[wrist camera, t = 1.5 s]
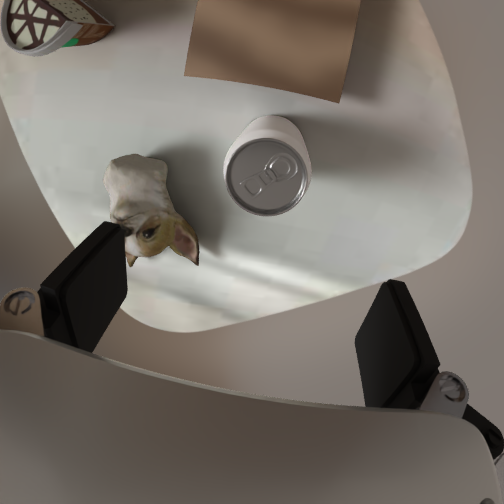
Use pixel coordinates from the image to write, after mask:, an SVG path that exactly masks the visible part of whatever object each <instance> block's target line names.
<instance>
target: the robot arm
mask: <svg viewBox="0 0 504 504" xmlns="http://www.w3.org/2000/svg"><path fill="white" fill-rule="evenodd" d="M40 286H41V288H40V290H39V291H38V292H36V291H35V290H33V289H31V288H18V289H15V290H12V291H11V292H9V293H8V294H6V295H5V296H4V297H3V299H2V301H1V303H0V504H504V452H503V449H504V439H503V436H502V434H501V432H500V430H499V429H498V428H497V427H496V426H495V425H494V424H492V423H491V422H490V421H489V420H487V419H486V418H485V417H484V416H482V415H481V414H480V413H478V412H477V411H476V410H475V409H473V408H472V407H471V406H469V405H468V404H467V402H468V399H469V391H468V388H467V386H466V384H465V382H464V381H463V380H462V379H461V378H460V377H459V376H458V375H456V374H454V373H452V372H448V371H445V372H441V373H439V370H438V367H439V366H440V362H439V360H438V357H437V355H436V352H435V350H434V347H433V345H432V343H431V340H430V338H429V335H428V333H427V331H426V328H425V326H424V323H423V321H422V319H421V317H420V314H419V312H418V310H417V308H416V306H415V303H414V301H413V299H412V297H411V295H410V293H409V291H408V289H407V286H406V284H405V283H404V282H402V281H397V280H392V279H389V280H388V281H387V282H384V283H383V284H382V285H381V287H380V289H379V291H378V293H377V295H376V298H375V300H374V302H373V304H372V306H371V308H370V310H369V312H368V314H367V316H366V317H365V319H364V322H363V323H362V325H361V327H360V329H359V331H358V333H357V335H356V338H355V347H356V353H357V358H358V363H359V369H360V375H361V381H362V387H363V393H364V399H365V406H366V407H359V406H345V405H333V404H322V403H313V402H304V401H297V400H289V399H282V398H275V397H268V396H262V395H256V394H250V393H244V392H239V391H234V390H228V389H223V388H218V387H214V386H209V385H204V384H200V383H195V382H191V381H187V380H183V379H178V378H175V377H171V376H167V375H163V374H159V373H155V372H152V371H148V370H145V369H141V368H138V367H134V366H131V365H127V364H124V363H121V362H118V361H115V360H111V359H108V358H105V357H102V356H99V355H96V354H93V353H92V352H93V351H94V349H95V347H96V345H97V344H98V342H99V340H100V338H101V337H102V335H103V333H104V332H105V330H106V329H107V327H108V325H109V324H110V322H111V320H112V319H113V317H114V315H115V314H116V312H117V311H118V309H119V307H120V306H121V304H122V303H123V301H124V299H125V298H126V295H127V290H128V288H127V273H126V255H125V232H124V229H121V226H120V225H119V224H117V223H112V222H107V221H104V222H103V223H102V224H101V225H100V226H99V227H97V228H96V229H95V230H94V231H93V232H92V233H91V234H90V235H89V236H88V237H87V238H86V239H85V240H84V241H83V242H82V243H81V244H80V245H79V246H78V247H76V248H75V250H73V251H72V252H71V253H70V254H69V256H67V258H65V259H64V260H63V261H62V263H61V264H60V265H59V266H58V267H57V268H56V269H55V270H54V271H53V272H52V273H51V274H50V275H49V276H48V277H47V278H46V279H45V280H44V281H43V282H42V284H41V285H40Z"/></svg>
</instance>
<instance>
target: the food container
mask: <svg viewBox="0 0 504 504" xmlns="http://www.w3.org/2000/svg"><path fill="white" fill-rule="evenodd" d="M0 24H1V32H2V36H3V38H4V40H5V42H6V43H7V45H8V46H9V47H10V48H12V49H13V50H15V51H16V52H18V53H21V54H25V55H29V56H43V55H47V54H49V53H51V52H54V51H56V50H57V49H59V48H61V47H70V46H82V45H88V44H92V43H94V42H96V41H98V40H100V39H102V38H103V37H105V36H106V35H107V34H108V33H109V32H110V31H111V30H112V29H113V28H114V27H115V26H114V25H113V24H112V23H111V22H109V21H108V20H107V19H106V18H104V17H103V16H102V15H101V14H99V13H98V12H97V11H96V10H94V9H93V8H92V7H90V6H89V5H88V4H86V3H85V2H84V1H83V0H4V3H3V7H2V12H1V23H0Z"/></svg>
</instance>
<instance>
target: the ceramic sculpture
mask: <svg viewBox="0 0 504 504" xmlns="http://www.w3.org/2000/svg"><path fill="white" fill-rule="evenodd" d="M167 172H168V167H167V164H166V163H165V162H164V161H161V160H158V159H153V158H148V157H143V156H141V155H139V154H131V155H125V156H122V157H119V158H116V159H114V160H111V161H110V164H109V165H108V167H107V169H106V172H105V175H104V177H103V182H104V186H105V187H106V189H107V191H108V193H109V195H110V219H111V222H112V223H117V224H119V225H120V226H121V229H124V232H125V255H126V257H127V262H128V264H129V266H130V267H132V266H133V264H134V262H135V260H136V259H137V258H138V257H151V256H155V255H157V254H159V253H161V252H162V251H163V250H164V249H165V248H166V247H167V246H170V248H171V249H172V250H173V251H174V252H175V253H177V254H178V255H180V256H184V257H186V258H188V259H189V260H191V261H192V262H193V263H194V264H195V265H197V266H198V265H199V243H198V238H197V235H196V234H195V232H194V229H193V228H192V227H191V226H190V225H189V223H188V222H187V221H186V220H185V219H184V218H183V217H182V216H181V215H180V214H178V213H177V212H176V211H175V210H174V207H173V204H172V201H171V199H170V197H169V194H168V191H167V189H166V179H167Z"/></svg>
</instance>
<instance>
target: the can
mask: <svg viewBox="0 0 504 504" xmlns="http://www.w3.org/2000/svg"><path fill="white" fill-rule="evenodd" d="M223 173H224V179H225V183H226V187H227V190H228V192H229V194H230V196H231V197H232V199H233V200H234V201H235V203H236V204H237V205H239V206H240V207H241V208H242V209H244V210H246V211H247V212H250V213H252V214H255V215H259V216H275V215H279V214H282V213H285V212H287V211H289V210H290V209H292V208H293V207H294V206H296V205H297V204H298V202H299V201H300V200H301V199H302V197H303V196H304V194H305V193H306V191H307V189H308V187H309V184H310V181H311V174H312V168H311V161H310V157H309V154H308V151H307V148H306V145H305V142H304V139H303V137H302V134H301V133H300V131H299V129H298V128H297V127H296V126H295V125H294V124H293V123H292V122H291V121H289V120H288V119H286V118H283V117H280V116H275V115H268V116H263V117H260V118H257V119H255V120H254V121H252V122H251V123H250V124H249V125H248V126H247V127H246V128H245V129H244V130H243V132H242V133H241V134H240V135H239V136H238V138H237V139H236V140H235V141H234V143H233V144H232V145H231V147H230V149H229V150H228V152H227V155H226V157H225V161H224V168H223Z"/></svg>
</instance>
